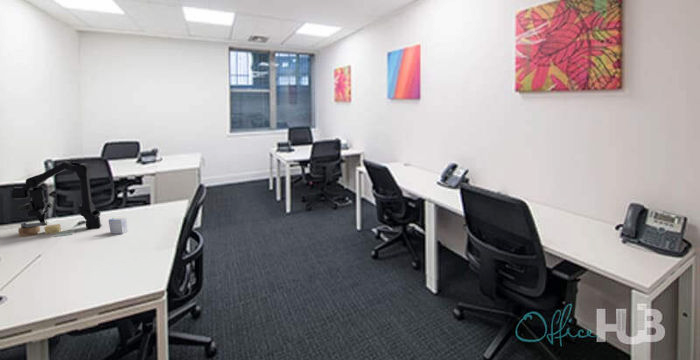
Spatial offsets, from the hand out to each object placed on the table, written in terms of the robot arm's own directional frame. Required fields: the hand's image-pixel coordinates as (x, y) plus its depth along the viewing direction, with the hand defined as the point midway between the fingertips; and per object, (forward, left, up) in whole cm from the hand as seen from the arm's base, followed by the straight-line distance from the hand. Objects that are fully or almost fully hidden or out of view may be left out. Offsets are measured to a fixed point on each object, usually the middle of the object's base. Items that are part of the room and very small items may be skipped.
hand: (42, 223), depth 198 cm
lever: (+3, +2, 0) cm, 4 cm away
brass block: (-5, +2, -5) cm, 8 cm away
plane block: (+6, +1, -5) cm, 8 cm away
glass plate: (-12, +9, -5) cm, 16 cm away
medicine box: (-40, +19, -6) cm, 45 cm away
